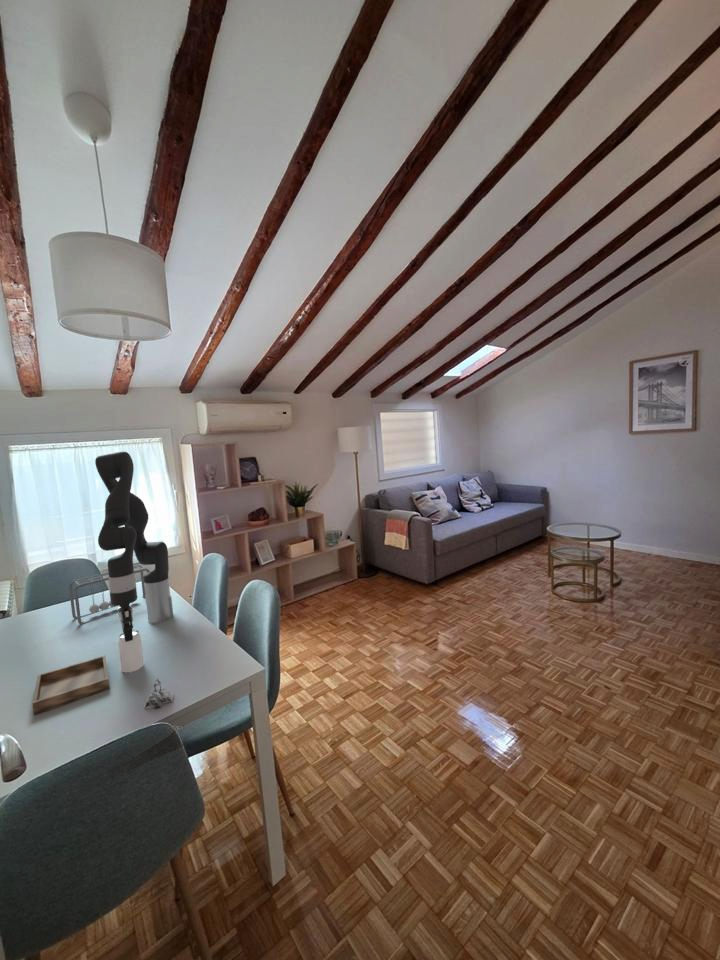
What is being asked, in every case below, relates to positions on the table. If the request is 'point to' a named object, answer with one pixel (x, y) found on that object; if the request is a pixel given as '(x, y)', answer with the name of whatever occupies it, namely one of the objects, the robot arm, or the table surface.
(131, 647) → the can
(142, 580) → the newton's cradle
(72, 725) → the table surface
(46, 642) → the table surface
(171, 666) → the table surface
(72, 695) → the tray
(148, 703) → the grey jagged ornament
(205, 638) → the table surface
